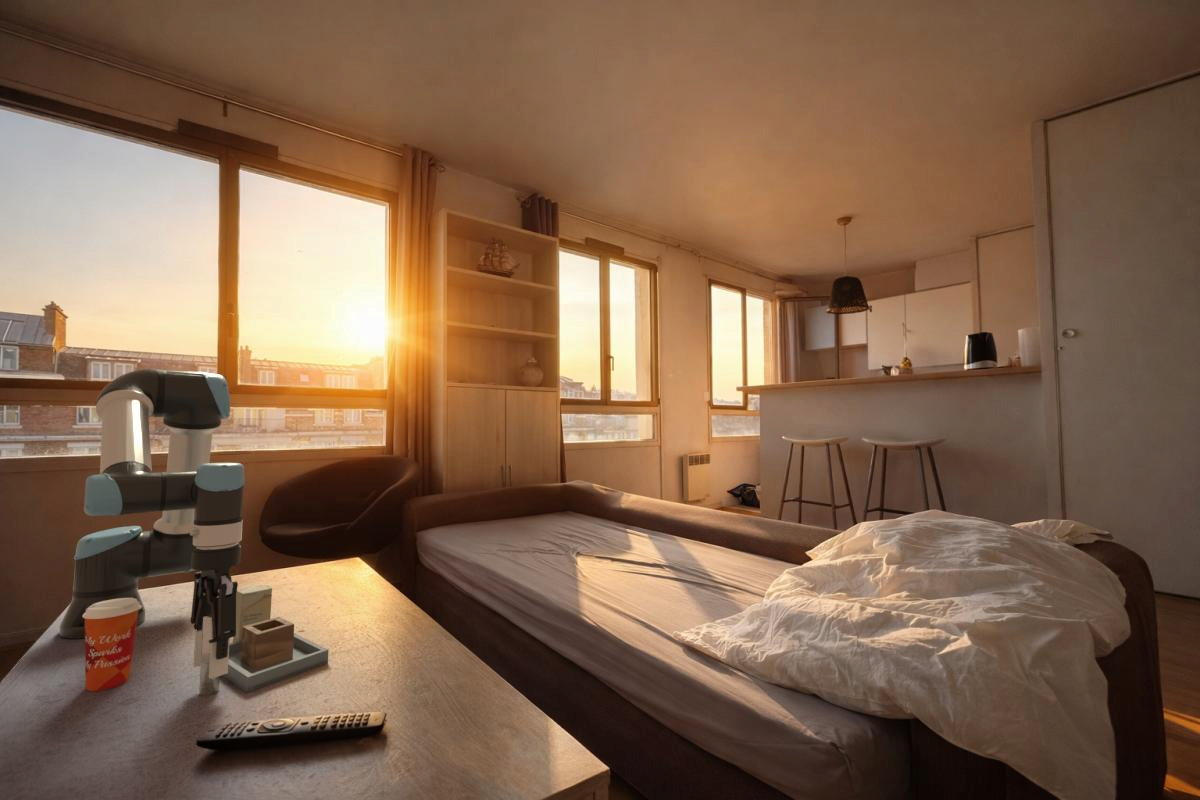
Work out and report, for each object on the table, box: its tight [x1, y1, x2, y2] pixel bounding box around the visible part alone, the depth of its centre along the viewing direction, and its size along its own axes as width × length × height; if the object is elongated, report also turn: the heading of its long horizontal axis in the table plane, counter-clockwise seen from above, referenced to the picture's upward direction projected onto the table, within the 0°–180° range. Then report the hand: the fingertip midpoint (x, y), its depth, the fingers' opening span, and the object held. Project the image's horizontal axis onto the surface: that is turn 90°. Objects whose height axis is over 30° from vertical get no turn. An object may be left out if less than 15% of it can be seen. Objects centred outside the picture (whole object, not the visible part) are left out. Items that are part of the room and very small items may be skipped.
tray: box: [222, 632, 329, 694], centre depth 108 cm, size 20×15×3 cm
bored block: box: [241, 616, 295, 670], centre depth 108 cm, size 7×7×7 cm
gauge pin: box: [198, 613, 221, 697], centre depth 97 cm, size 3×3×14 cm
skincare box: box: [232, 584, 273, 642], centre depth 118 cm, size 6×4×12 cm
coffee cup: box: [82, 598, 142, 692], centre depth 99 cm, size 8×8×15 cm
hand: (210, 669), depth 96 cm, fingers open, 7 cm apart
